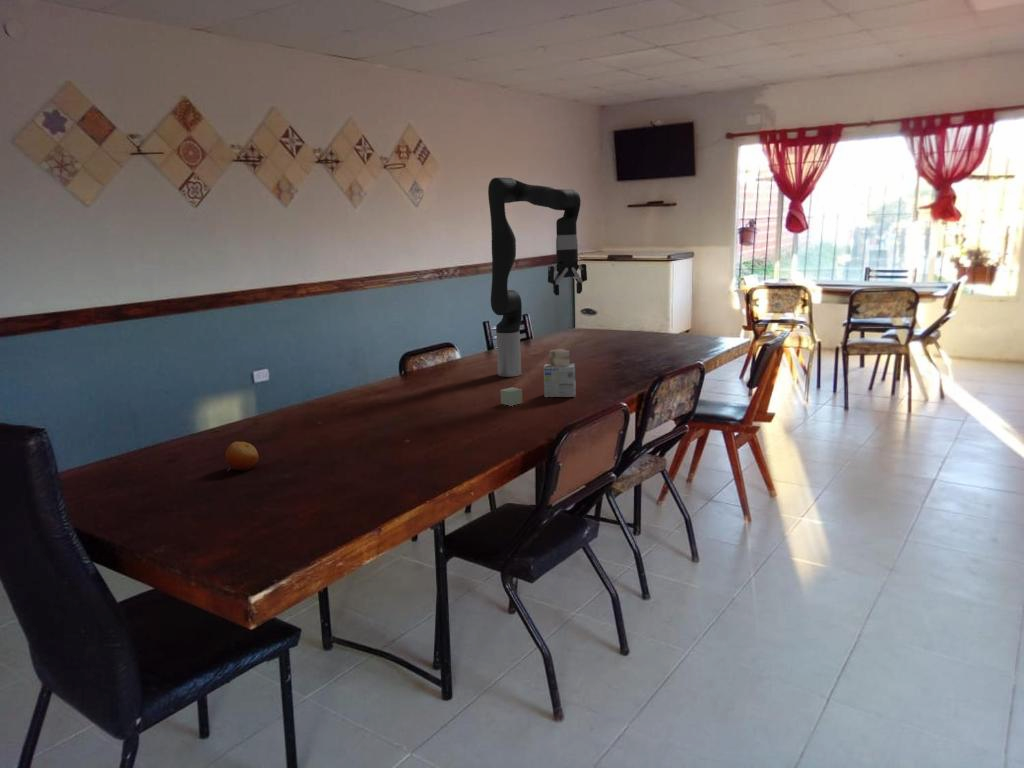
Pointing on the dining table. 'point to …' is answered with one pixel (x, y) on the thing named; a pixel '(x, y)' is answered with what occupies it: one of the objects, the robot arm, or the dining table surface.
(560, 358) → the beech block
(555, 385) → the light bulb box
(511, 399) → the sage block
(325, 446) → the dining table surface
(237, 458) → the fruit
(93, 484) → the dining table surface
